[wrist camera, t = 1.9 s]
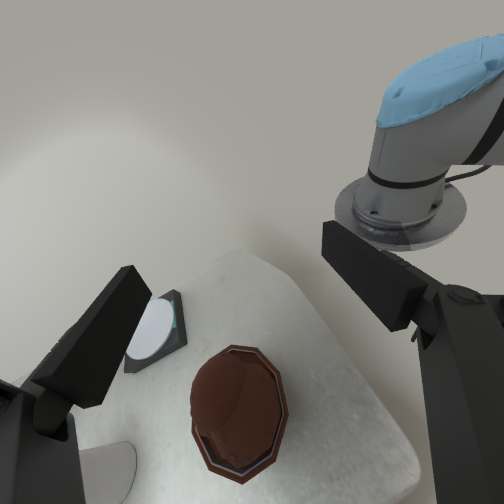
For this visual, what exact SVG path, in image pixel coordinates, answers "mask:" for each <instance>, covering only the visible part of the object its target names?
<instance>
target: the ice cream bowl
mask: <svg viewBox="0 0 504 504" xmlns="http://www.w3.org/2000/svg"><path fill="white" fill-rule="evenodd" d="M190 404H191V412H190V414H191V417H192V434H193V437H194V439H195V441H196V443H197V445H198V448H199V450H200V452H201V454H202V456H203V459H204V461H205V463H206V465H207V467H208V469H209V471H211V472H214V473H216V474H218V475H221V476H223V477H226V478H228V479H230V480H233V481H235V482H237V483H240V484H242V485H243V484H244V483H246V482H247V481H249V480H250V479H251V478H253V477H254V476H256V475H257V474H258V473H260V472H261V471H263V470H264V469H266V468H267V467H268V466H270V465H271V464H273V463H274V462H276V458H277V455H278V451H279V447H280V444H281V440H282V437H283V433H284V430H285V426H286V423H287V419H288V416H289V414H288V408H287V404H286V399H285V394H284V390H283V385H282V381H281V376H280V372H279V371H278V370H277V369H276V368H275V367H274V366H273V365H272V363H271V362H270V361H269V360H268V359H267V358H266V357H265V356H264V355H263V354H262V353H261V351H260V350H259V349H258V348H254V347H246V346H238V345H230V346H229V347H227V348H226V349H224V350H223V351H221V352H220V353H218V354H217V355H215V356H214V357H212V358H211V359H209V360H208V361H207V362H206V363H205V364H204V365H203V366H202V367H201V368H200V369H199V371H198V373H197V375H196V377H195V379H194V381H193V383H192V389H191V395H190Z"/></svg>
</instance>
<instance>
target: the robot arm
mask: <svg viewBox="0 0 504 504" xmlns="http://www.w3.org/2000/svg"><path fill="white" fill-rule="evenodd" d="M376 125H377V127H376V132H375V137H374V142H373V148H372V152H371V157H370V162H369V167H368V172H367V174H366V175H365V177H364V179H363V180H362V182H361V183H360V185H359V187H358V188H357V190H356V192H355V194H354V197H353V210H354V212H355V214H356V215H357V216H358V217H359V218H360V219H361V220H362V221H364V222H366V223H368V224H370V225H372V226H375V227H379V228H384V229H408V228H413V227H416V226H419V225H422V224H424V223H426V222H428V221H429V220H431V219H432V218H433V217H434V216H435V215H436V213H437V212H438V210H439V209H440V207H441V206H442V203H443V197H444V186H445V183H447V182H450V181H454V180H458V179H462V178H466V177H470V176H474V175H477V174H479V173H481V172H483V171H485V170H487V169H488V168H489V167H491V166H492V165H504V34H498V35H496V36H493V37H490V38H489V37H488V36H486V37H481V38H477V39H474V40H470V41H467V42H463V43H460V44H458V45H455V46H452V47H449V48H447V49H444V50H442V51H440V52H437V53H435V54H433V55H431V56H429V57H427V58H425V59H423V60H421V61H419V62H417V63H415V64H414V65H412V66H411V67H409V68H407V69H406V70H404V71H403V72H402V73H401V74H399V75H398V76H397V77H396V78H395V79H394V80H393V81H392V82H391V84H390V85H389V86H388V88H387V89H386V91H385V94H384V96H383V100H382V104H381V108H380V112H379V115H378V117H377V119H376ZM451 165H484V166H483V167H481V168H479V169H477V170H475V171H472V172H468V173H464V174H460V175H456V176H453V177H449V178H446V179H445V175H446V173H447V172H448V170H449V168H450V167H451ZM322 256H323V258H324V259H325V260H326V261H327V262H328V263H329V264H330V265H331V266H332V267H333V269H334V270H335V271H336V272H337V273H338V274H339V275H340V276H341V277H342V278H343V280H344V281H345V282H346V283H347V284H348V285H349V286H350V287H351V288H352V290H353V291H355V293H356V294H357V295H358V296H359V297H360V298H361V299H362V301H363V302H364V303H365V304H366V305H367V306H368V307H369V308H370V310H371V311H372V312H373V313H374V314H375V315H376V316H377V317H378V318H379V319H380V321H381V322H382V323H383V324H384V325H385V326H386V327H387V328H388V329H389V331H390V332H394V331H398V330H402V329H406V328H407V327H408V325H409V323H410V321H411V320H412V321H413V322H414V323H415V324H417V325H418V327H417V329H416V330H415V332H414V334H413V336H412V338H411V341H412V342H414V341H415V339H416V338H417V343H418V351H419V359H420V367H421V375H422V384H423V392H424V400H425V408H426V417H427V425H428V433H429V441H430V449H431V458H432V466H433V474H434V482H435V491H436V499H437V504H504V295H481V294H480V293H478V292H476V291H474V290H472V289H469V288H466V287H463V286H459V285H451V284H448V285H443V284H442V283H440V282H439V281H437V280H435V279H434V278H432V277H431V276H429V275H427V274H426V273H424V272H423V271H421V270H420V269H418V268H416V267H415V266H412V265H411V264H410V263H409V262H407V261H404V259H402V258H400V257H399V256H397V255H396V254H394V253H391V252H388V251H385V250H381V251H379V250H377V249H376V248H374V247H373V246H371V245H370V244H369V243H367V242H366V241H364V240H363V239H361V238H360V237H358V236H357V235H355V234H354V233H352V232H351V231H349V230H348V229H346V228H345V227H343V226H342V225H340V224H339V223H337V222H336V221H334V220H332V221H328V222H323V234H322ZM151 296H152V293H151V291H150V290H149V288H148V287H147V285H146V284H145V282H144V281H143V279H142V278H141V276H140V275H139V273H138V272H137V270H136V269H135V267H134V266H133V265H130V266H125V267H121V269H120V270H119V271H118V272H117V273H116V275H115V276H114V277H113V278H112V280H111V281H110V282H109V283H108V285H107V286H106V287H105V288H104V290H103V291H102V292H101V293H100V294H99V296H98V297H97V298H96V299H95V301H94V302H93V303H92V304H91V305H90V307H89V308H88V309H87V311H86V312H85V313H84V314H83V315H82V317H81V318H80V319H79V320H78V321H77V323H75V324H74V325H73V326H72V327H71V328H70V329H68V330H67V331H66V333H65V334H64V335H63V336H62V337H61V339H60V340H59V341H58V343H56V345H55V346H54V347H53V348H52V349H51V352H49V353H48V354H47V355H46V357H45V358H44V359H43V360H42V361H41V363H40V364H39V365H38V366H37V367H36V369H35V370H34V371H33V372H32V373H31V375H30V376H29V377H28V378H27V379H26V381H25V382H24V383H23V384H22V385H21V387H20V388H18V387H15V386H13V385H11V384H9V383H7V382H5V381H3V380H1V379H0V504H86V500H85V493H84V486H83V479H82V471H81V464H80V457H79V450H78V443H77V436H76V429H75V421H74V417H73V415H72V414H71V413H69V411H70V409H71V407H72V406H73V404H75V405H77V406H79V407H81V408H83V409H85V408H89V407H93V406H97V405H101V404H102V402H103V400H104V398H105V396H106V394H107V392H108V389H109V387H110V385H111V383H112V381H113V379H114V376H115V374H116V372H117V370H118V368H119V365H120V363H121V361H122V359H123V357H124V355H125V352H126V350H127V348H128V346H129V344H130V342H131V339H132V337H133V335H134V333H135V331H136V329H137V326H138V324H139V322H140V320H141V318H142V316H143V313H144V311H145V309H146V307H147V305H148V303H149V300H150V298H151Z"/></svg>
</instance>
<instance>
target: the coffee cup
mask: <svg viewBox="0 0 504 504" xmlns="http://www.w3.org/2000/svg"><path fill="white" fill-rule="evenodd" d="M79 457H80V464H81V471H82V479H83V486H84V493H85V500H86V504H120V503H121V502H122V501H123V500H124V499H125V497H126V496H127V494H128V492H129V490H130V488H131V486H132V483H133V480H134V477H135V472H136V464H137V458H136V452H135V449H134V447H133V445H132V444H131V443H129V442H122V443H117V444H112V445H107V446H101V447H96V448H91V449H86V450H81V451H79Z"/></svg>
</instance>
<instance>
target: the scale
mask: <svg viewBox="0 0 504 504" xmlns="http://www.w3.org/2000/svg"><path fill="white" fill-rule="evenodd" d="M186 344H187V340H186V332H185V325H184V318H183V311H182V303H181V296H180V293H179V292H177V291H176V290H174V289H173V290H171V291H169V292H168V293H166V294H164V295H162V296H161V297H159V298H157V299H154V300H152V301H150V302H149V303H148V305H147V307H146V309H145V311H144V313H143V316H142V318H141V320H140V322H139V324H138V326H137V329H136V331H135V333H134V335H133V337H132V339H131V342H130V344H129V346H128V348H127V350H126V352H125V364H124V373H136V372H138V371H139V370H141V369H143V368H145V367H146V366H148V365H150V364H152V363H154V362H155V361H157V360H159V359H161V358H162V357H164V356H166V355H168V354H170V353H171V352H173V351H175V350H177V349H178V348H180V347H182V346H184V345H186Z"/></svg>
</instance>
